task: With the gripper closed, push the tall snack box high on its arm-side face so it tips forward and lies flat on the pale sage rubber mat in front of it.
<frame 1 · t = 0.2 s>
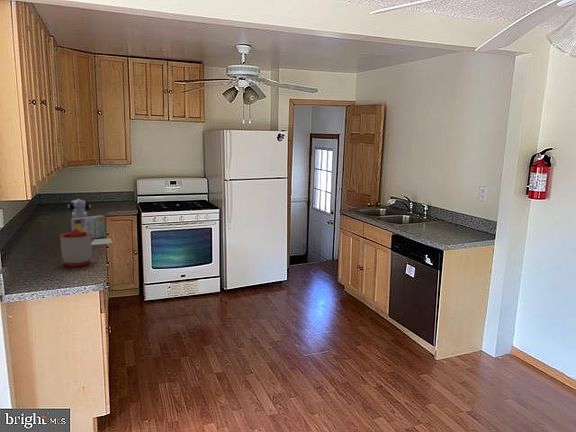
hand: (79, 207, 308), 21 cm above the worktop, tool horizontal, fingers open, 7 cm apart
snack box: (89, 239, 308), on the worktop, touching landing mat
citrus juicer: (79, 264, 248), on the worktop
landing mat: (90, 242, 298), on the worktop
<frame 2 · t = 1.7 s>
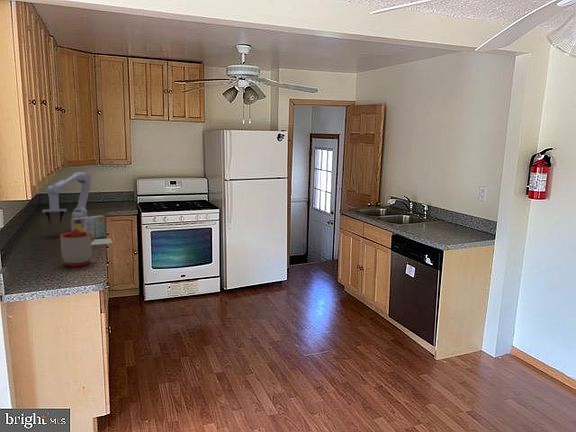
hand: (55, 222, 309), 10 cm above the worktop, tool pointing down, fingers open, 6 cm apart
nothing on the worktop moved.
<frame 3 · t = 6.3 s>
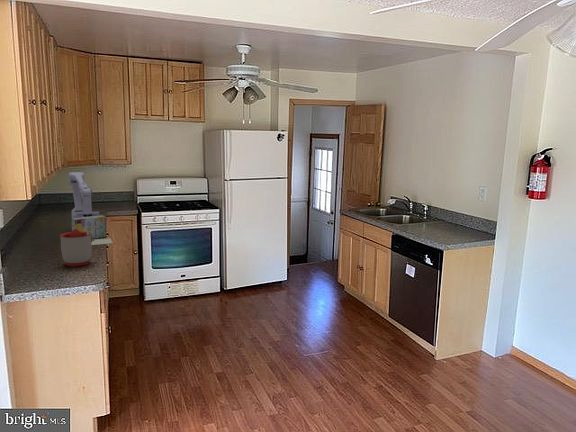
hand: (88, 225, 312), 8 cm above the worktop, tool pointing down, fingers closed
snack box: (89, 238, 308), on the worktop, touching gripper, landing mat
everything else where it was.
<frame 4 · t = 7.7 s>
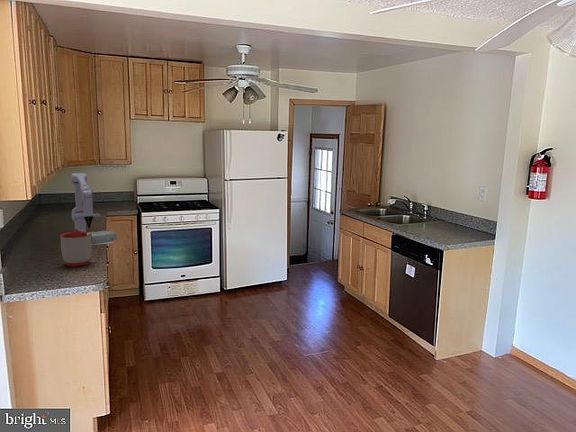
hand: (88, 227, 305), 8 cm above the worktop, tool pointing down, fingers closed
snack box: (91, 234, 306), point 3 cm above the worktop, touching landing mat
everything else where it was.
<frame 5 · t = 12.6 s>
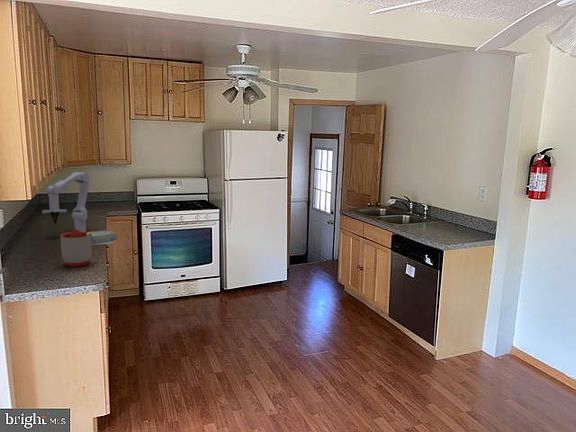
hand: (55, 223, 307), 10 cm above the worktop, tool pointing down, fingers closed
nothing on the worktop moved.
at the end: snack box tilted 91°; snack box touching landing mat; snack box inside the target area (5.6 cm from its centre), point 3.3 cm above the worktop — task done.
